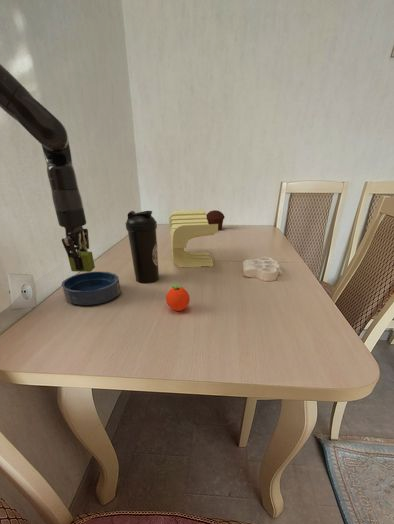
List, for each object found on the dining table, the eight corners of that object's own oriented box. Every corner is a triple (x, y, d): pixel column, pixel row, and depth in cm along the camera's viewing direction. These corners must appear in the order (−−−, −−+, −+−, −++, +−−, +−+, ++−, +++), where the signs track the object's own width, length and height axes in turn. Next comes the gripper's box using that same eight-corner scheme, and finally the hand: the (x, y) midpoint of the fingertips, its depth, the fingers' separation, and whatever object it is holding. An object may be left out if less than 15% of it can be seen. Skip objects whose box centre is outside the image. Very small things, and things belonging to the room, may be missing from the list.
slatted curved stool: (171, 253, 136) (168, 211, 126) (205, 251, 138) (205, 209, 128) (175, 275, 112) (172, 225, 102) (216, 273, 113) (218, 224, 103)
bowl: (56, 306, 91) (51, 291, 88) (78, 284, 105) (74, 271, 103) (112, 307, 90) (109, 292, 87) (126, 285, 104) (124, 271, 102)
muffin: (210, 232, 169) (211, 213, 163) (201, 228, 177) (201, 210, 172) (228, 229, 174) (228, 211, 168) (218, 226, 182) (218, 208, 176)
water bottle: (159, 284, 105) (153, 214, 92) (131, 284, 105) (120, 214, 92) (162, 274, 113) (157, 208, 100) (136, 274, 113) (127, 209, 101)
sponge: (71, 271, 91) (67, 255, 89) (76, 267, 95) (72, 251, 92) (90, 271, 91) (87, 255, 88) (95, 267, 94) (91, 251, 92)
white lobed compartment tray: (242, 264, 121) (278, 265, 120) (243, 280, 107) (284, 281, 105) (242, 256, 120) (279, 257, 118) (244, 271, 105) (286, 272, 103)
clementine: (162, 305, 90) (160, 283, 86) (183, 301, 93) (182, 279, 89) (171, 316, 84) (169, 293, 80) (193, 312, 87) (193, 289, 83)
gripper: (66, 203, 89) (79, 260, 99) (43, 211, 77) (61, 275, 87) (91, 203, 88) (101, 260, 98) (71, 211, 77) (86, 275, 86)
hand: (82, 266), depth 92 cm, fingers closed on sponge, 4 cm apart
